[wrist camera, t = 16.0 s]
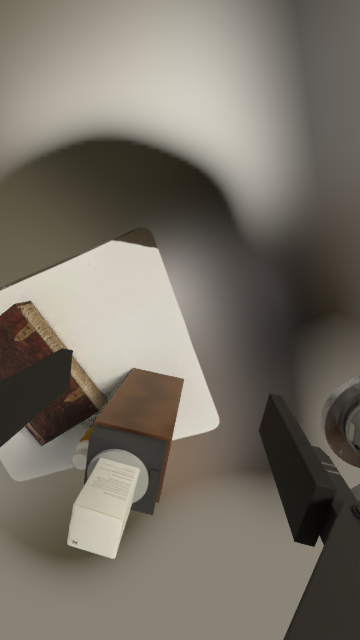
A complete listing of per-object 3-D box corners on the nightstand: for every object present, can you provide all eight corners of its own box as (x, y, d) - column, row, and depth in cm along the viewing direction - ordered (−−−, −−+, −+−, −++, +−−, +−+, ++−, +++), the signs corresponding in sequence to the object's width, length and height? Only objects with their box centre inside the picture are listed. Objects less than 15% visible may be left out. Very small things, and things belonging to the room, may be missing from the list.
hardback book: (-22, 343, 59) (-42, 350, 54) (31, 300, 55) (14, 303, 50) (52, 433, 62) (39, 447, 57) (107, 399, 58) (98, 411, 54)
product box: (133, 501, 35) (114, 561, 28) (93, 490, 35) (64, 546, 28) (141, 467, 34) (123, 521, 26) (99, 455, 34) (71, 505, 27)
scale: (167, 441, 36) (164, 456, 33) (156, 499, 38) (151, 519, 35) (97, 424, 37) (87, 438, 34) (90, 482, 39) (80, 500, 36)
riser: (184, 379, 55) (171, 439, 36) (174, 424, 58) (158, 503, 38) (133, 367, 56) (94, 420, 36) (126, 413, 59) (86, 484, 39)
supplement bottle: (85, 430, 61) (63, 460, 51) (99, 418, 60) (79, 446, 50) (100, 445, 61) (81, 477, 52) (114, 433, 60) (97, 464, 51)
